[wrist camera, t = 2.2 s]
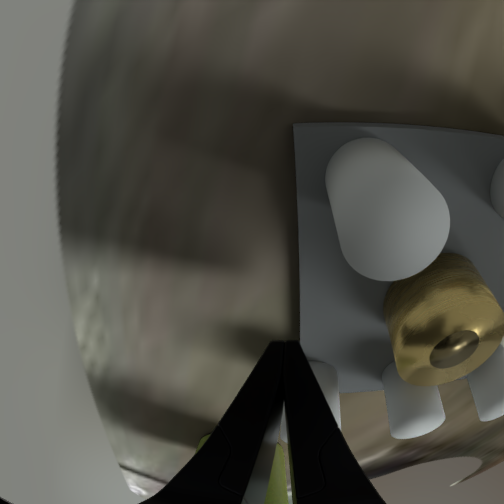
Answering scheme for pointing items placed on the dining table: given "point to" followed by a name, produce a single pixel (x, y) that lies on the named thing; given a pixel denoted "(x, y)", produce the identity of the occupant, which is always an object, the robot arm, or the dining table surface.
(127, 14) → the dining table surface
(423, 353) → the brass knob
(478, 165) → the board
